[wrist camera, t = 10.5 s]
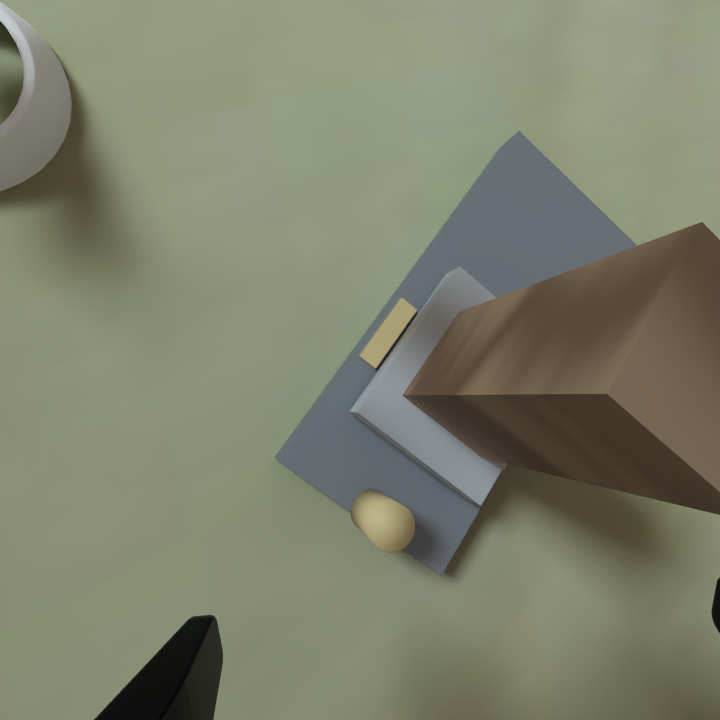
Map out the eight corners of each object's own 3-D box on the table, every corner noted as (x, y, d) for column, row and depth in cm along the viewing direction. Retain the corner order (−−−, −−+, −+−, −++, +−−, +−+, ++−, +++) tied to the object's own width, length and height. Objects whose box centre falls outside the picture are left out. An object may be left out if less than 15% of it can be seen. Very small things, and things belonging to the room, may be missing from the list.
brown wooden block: (465, 499, 19) (759, 626, 8) (349, 411, 17) (520, 433, 7) (547, 361, 20) (880, 325, 10) (445, 274, 19) (699, 131, 9)
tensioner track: (421, 569, 20) (468, 611, 16) (270, 463, 18) (281, 481, 14) (611, 253, 24) (685, 226, 20) (500, 148, 22) (556, 96, 19)
